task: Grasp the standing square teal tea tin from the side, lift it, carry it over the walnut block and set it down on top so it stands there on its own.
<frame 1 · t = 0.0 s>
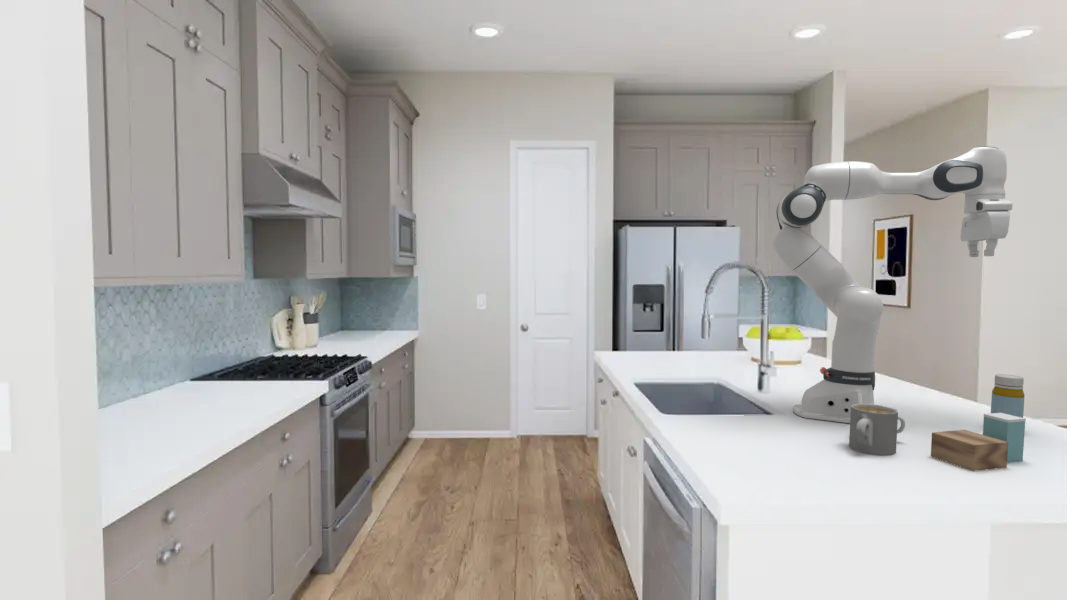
hand: (981, 256, 160), 48 cm above the countertop, tool pointing down, fingers open, 8 cm apart
tea tin: (1001, 458, 136), on the countertop
cup: (879, 441, 149), on the countertop
walnut block: (967, 462, 133), on the countertop
bottle: (1005, 430, 161), on the countertop
coffee mug: (867, 450, 141), on the countertop
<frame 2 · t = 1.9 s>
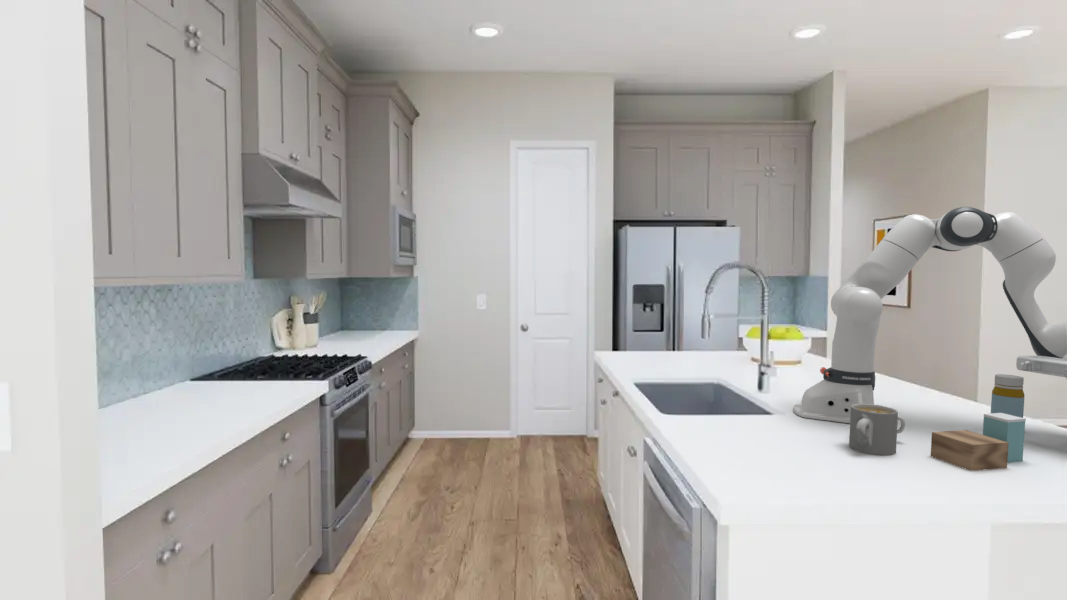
hand: (1044, 370, 138), 20 cm above the countertop, tool horizontal, fingers open, 8 cm apart
nothing on the countertop moved.
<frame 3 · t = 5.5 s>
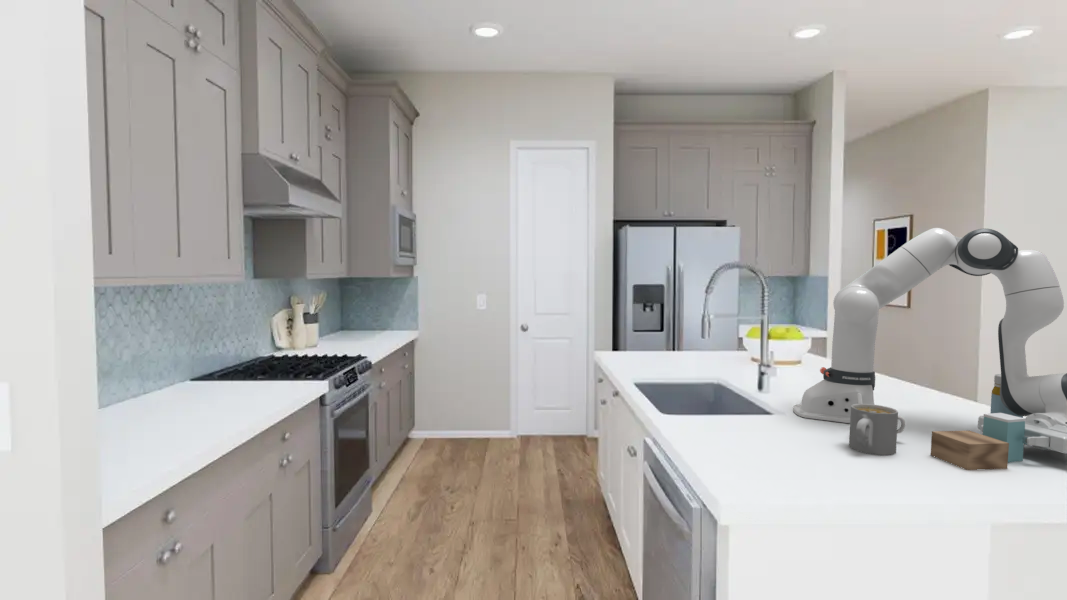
hand: (1003, 434, 136), 5 cm above the countertop, tool horizontal, fingers open, 8 cm apart
nothing on the countertop moved.
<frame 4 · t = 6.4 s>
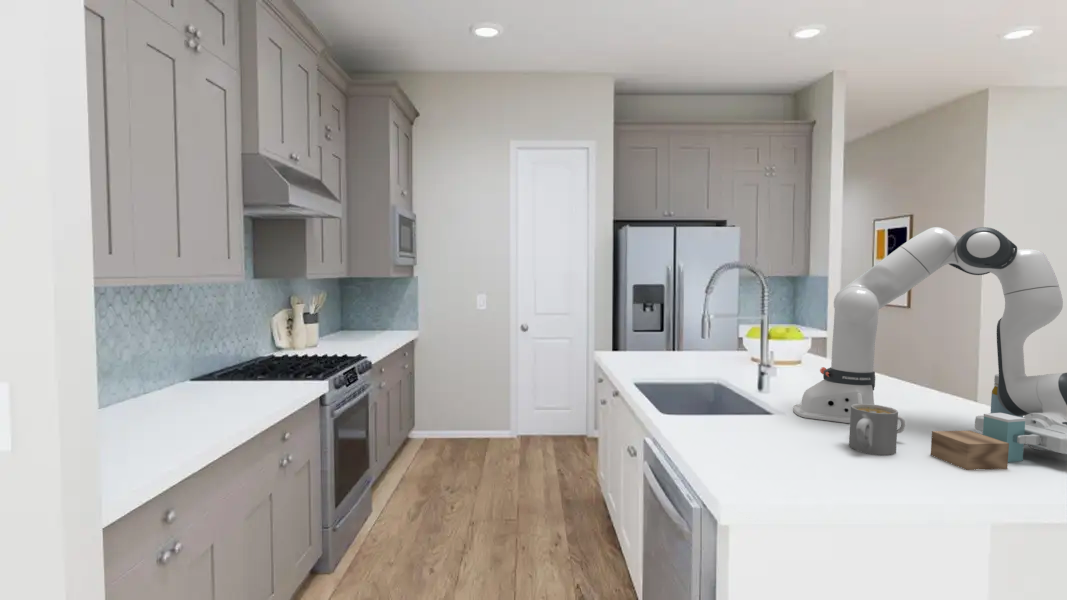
hand: (1000, 435, 135), 6 cm above the countertop, tool horizontal, fingers closed on tea tin, 5 cm apart
tea tin: (1001, 457, 136), on the countertop, touching gripper
everything else where it was.
when the fingers open (12 cm above the countertop, at t = 11.3 s): tea tin drops 1 cm, resting on walnut block.
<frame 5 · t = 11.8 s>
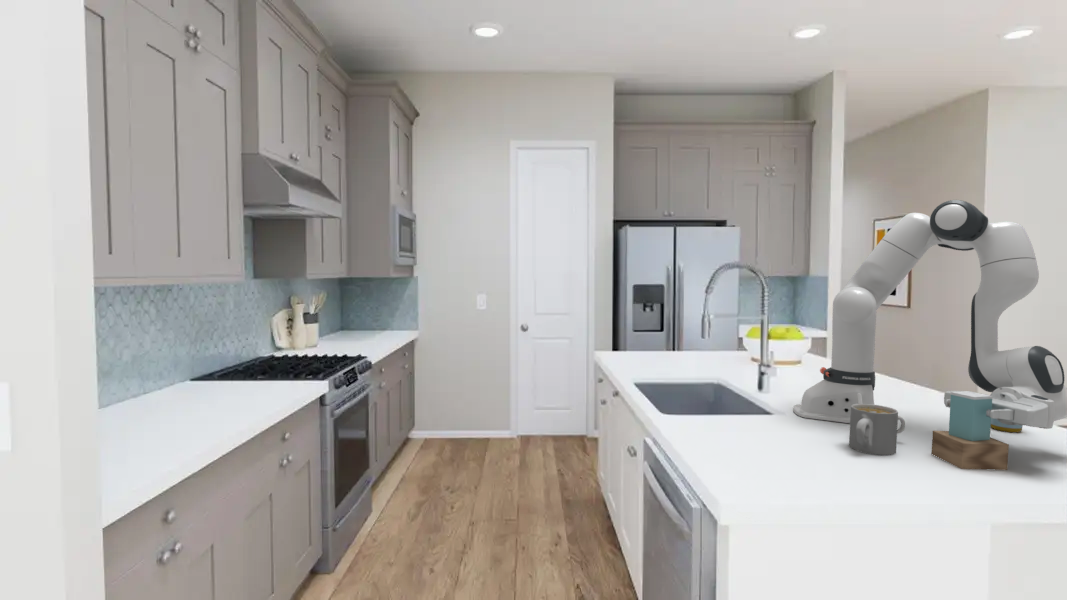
hand: (968, 408, 132), 12 cm above the countertop, tool horizontal, fingers open, 8 cm apart
tea tin: (968, 437, 133), point 6 cm above the countertop, touching walnut block
walnut block: (967, 462, 133), on the countertop, touching tea tin
everything else where it was.
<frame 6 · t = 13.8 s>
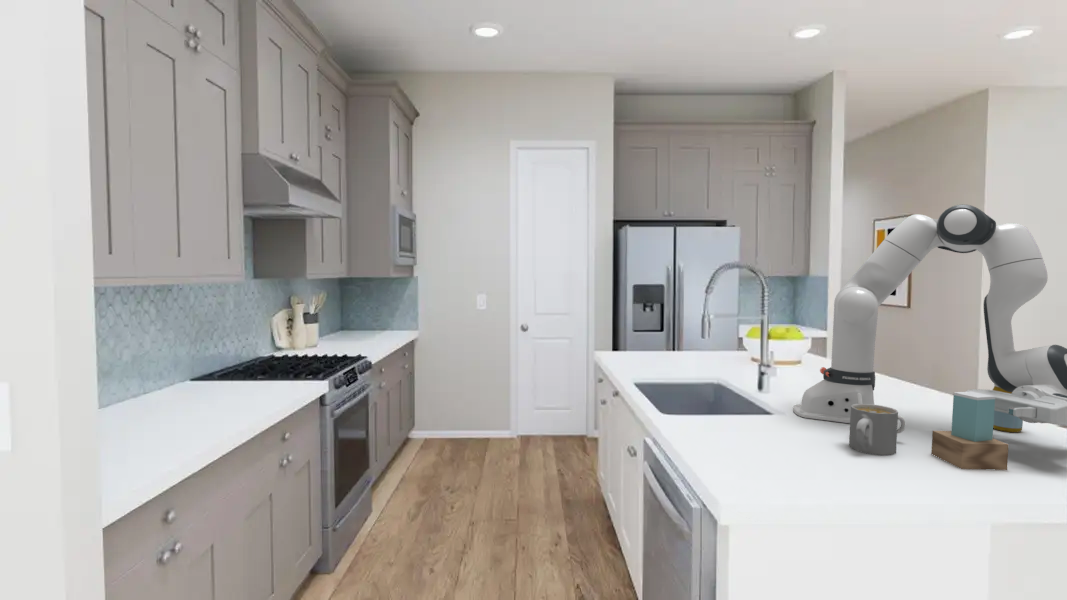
hand: (990, 406, 134), 12 cm above the countertop, tool horizontal, fingers open, 8 cm apart
nothing on the countertop moved.
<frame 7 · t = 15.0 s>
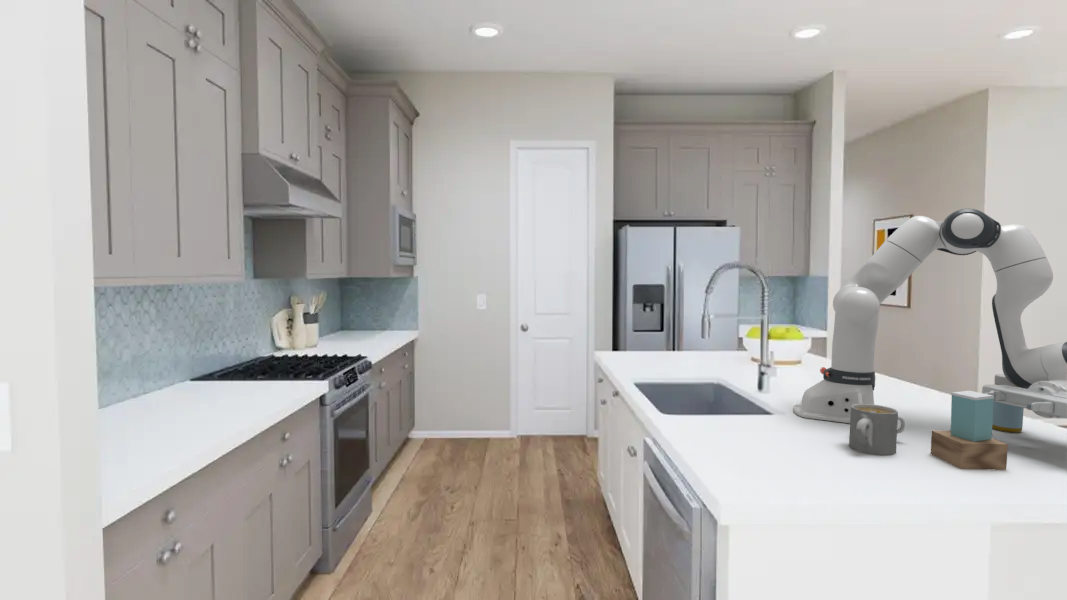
hand: (1008, 401, 136), 13 cm above the countertop, tool horizontal, fingers open, 8 cm apart
tea tin: (970, 437, 132), point 6 cm above the countertop
walnut block: (966, 462, 133), on the countertop
everything else where it was.
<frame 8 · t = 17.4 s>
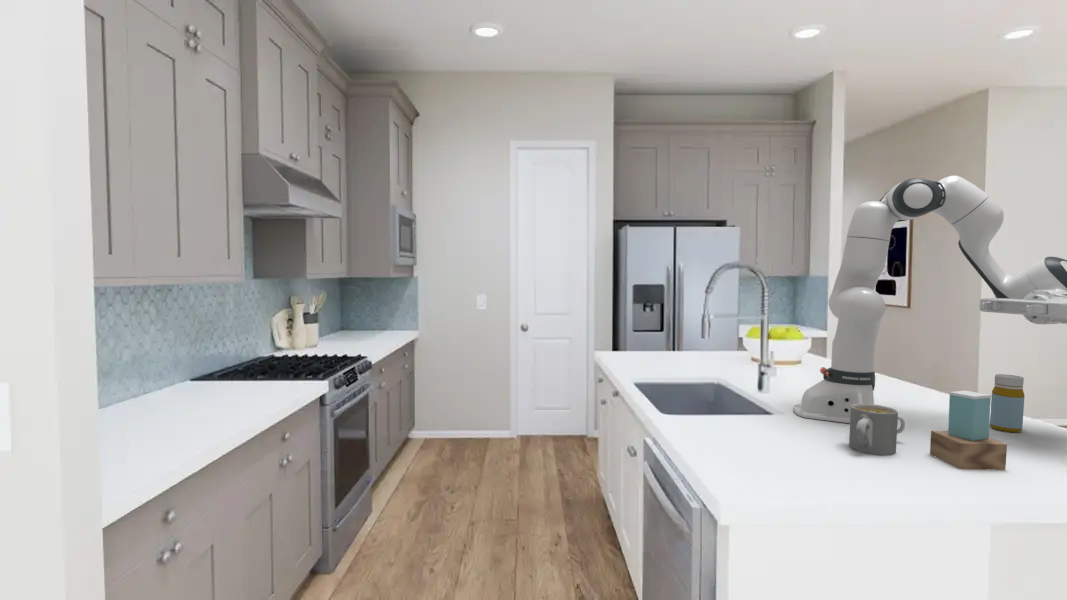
hand: (1004, 307, 144), 35 cm above the countertop, tool horizontal, fingers open, 8 cm apart
tea tin: (968, 436, 133), point 6 cm above the countertop, touching walnut block
walnut block: (966, 462, 133), on the countertop, touching tea tin
everything else where it was.
at the end: tea tin inside the target area on the walnut block (0.5 cm from its centre), point 6.1 cm above the walnut block's base; tea tin tilted 2°; the gripper is holding nothing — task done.
